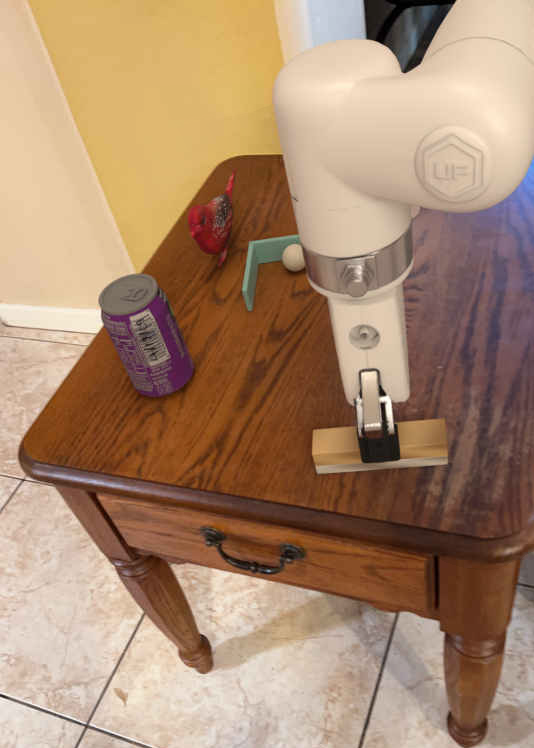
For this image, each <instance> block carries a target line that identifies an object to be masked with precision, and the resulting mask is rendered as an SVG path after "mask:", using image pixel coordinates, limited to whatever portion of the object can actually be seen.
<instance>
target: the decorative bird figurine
mask: <svg viewBox="0 0 534 748" xmlns="http://www.w3.org/2000/svg"><path fill="white" fill-rule="evenodd" d="M235 179H236V169H233V170H232V172H231V174H230V177H229V180H228V182H227V185H226V188H225V191H224V192H223V194H220V195H218V196H216V197H215V198H213V199H212V200H210V201H209V203H207V204H206V205H204V204H196V205H194V206H192V207H191V208H190V209H189V211H188V213H187V226H188V230H189V232H190V235H191V238H192V239H193V240H195V242H196V244H197V246H198V248H199V249H200V250H201V251H202V252H203V253H205V254H207V255H211V256H212V255H217V254H220V253H221V255H220V257H219V264H218V266H217V270H219V269H220V267H221V266H222V264H224V263H225V261H226V257H227V255H228V251H229V249H228V247H230V244H229V242H230V239H231V235H232V231H233V220H234V205H233V191H234V185H235Z"/></svg>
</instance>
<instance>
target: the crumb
mask: <svg viewBox="0 0 534 748" xmlns="http://www.w3.org/2000/svg"><path fill="white" fill-rule="evenodd" d="M281 262H282V264H283V266H284V267H285V268H286V269H287V270H288V271H291V272H300V271H302V270H303V269H304V268H306V267H305V262H304V258H303V253H302V248H301V245H299V244H292V245H289V246H288V247H286V249H285V250H284V252H283V254H282V261H281Z"/></svg>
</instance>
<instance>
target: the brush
mask: <svg viewBox="0 0 534 748" xmlns="http://www.w3.org/2000/svg"><path fill="white" fill-rule="evenodd" d="M360 392H361V396H362V387H361V390H360ZM379 393H380V394H386V393H385V391H384V390H383V389H382V386H381V385H379ZM380 408H381V418H382V420H386V409H385V403H381V404H380ZM354 411H355V418H356V420H357V411H356V404H355V407H354ZM393 419H394V420H395V418H394V417H393ZM356 423H357V424H356V425H353V426H341V427H331V428H319V429H318V428H317V429H312V443H311V445H312V446H311V447H312V448H311V456H312V459H313V463H314V467H315V472H316V475H325V474H337V473H352V472H362V471H363V472H365V471H378V470H391V469H392V470H393V469H402V468H403V469H404V468H405V469H406V468H416V467H417V468H418V467H430V466H443V465H448V464H449V450H448V449H449V447H448V446H449V445H448V443H449V442H448V435H447V427H446V418H445V417H442V418H432V419H421V420H420V419H419V420H410V421H409V420H408V421H398V422H394V424H397V426H398V435H399V445H400V455H401V459H400V460H398V461H391V462H384V463H363V462H362V460H361V455H360V449H359V443H358V437H357V427H358V422H357V421H356Z"/></svg>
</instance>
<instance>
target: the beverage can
mask: <svg viewBox="0 0 534 748" xmlns="http://www.w3.org/2000/svg"><path fill="white" fill-rule="evenodd" d="M97 301H98V306H99V308H100V319H101V322H102V324H103V326H104V328H105V330H106V333H107V334H108V337H109V339H110V340H111V343H112V344H113V347H114V348H115V351H116V353H117V355H118V357H119V359H120V361H121V363H122V365H123V367H124V369H125V371H126V373H127V375H128V377H129V380H130V381H131V383H132V385H133V387H134V389H135V390H136V391H137V392H138V393H139V394H141V395H143V396H146V397H154V398H155V397H163V396H168V395H170V394H173V393H175V392H176V391H179V390H180V389H181V388H183V387H184V386H185V385H186V384H187V383H188V382H189V380H190V379H191V378H192V376H193V374H194V370H195V365H194V362H193V359H192V356H191V353H190V351H189V348H188V345H187V344H186V341H185V339H184V336H183V333H182V331H181V328H180V326H179V323H178V322H177V318H176V315H175V313H174V310H173V308H172V305H171V303H170V301H169V298H168V296H167V293H166V291H164V289H162V288H161V287H160V286H159V285H158V283H157V280H156V278H154V277H153V276H152V275H150V274H147V273H131V274H127V275H123V276H121V277H118V278H117V279H115V280H113V281H111V282H110V283H108V284H107V285H106V286H105V287H104V288H103V289H102V290H101V292H100V294H99V296H98V299H97Z"/></svg>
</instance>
